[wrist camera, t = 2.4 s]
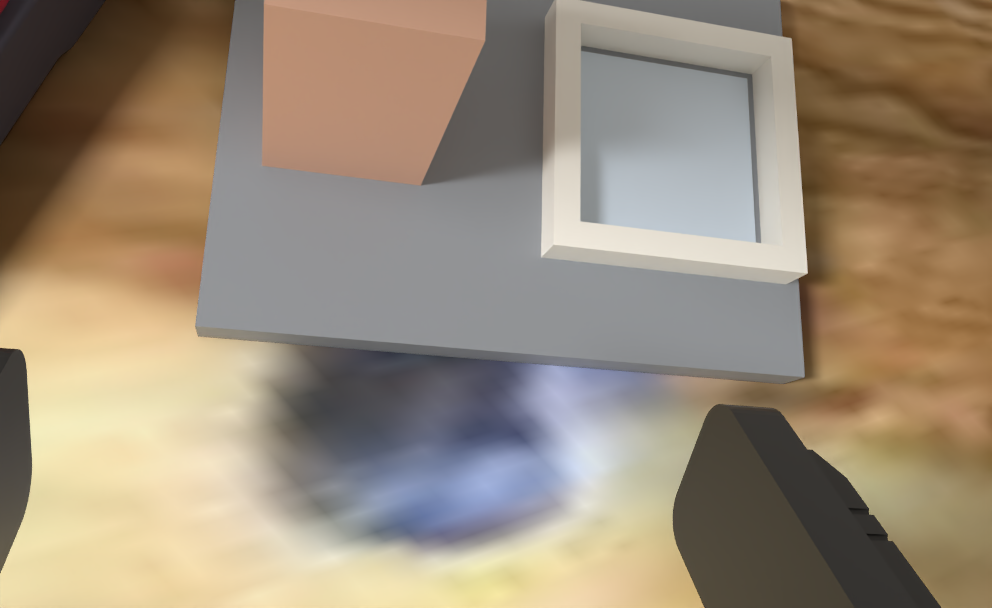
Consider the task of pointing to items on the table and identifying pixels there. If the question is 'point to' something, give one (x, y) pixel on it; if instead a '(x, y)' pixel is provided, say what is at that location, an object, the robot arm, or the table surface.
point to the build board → (542, 203)
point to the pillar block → (364, 83)
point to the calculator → (35, 47)
